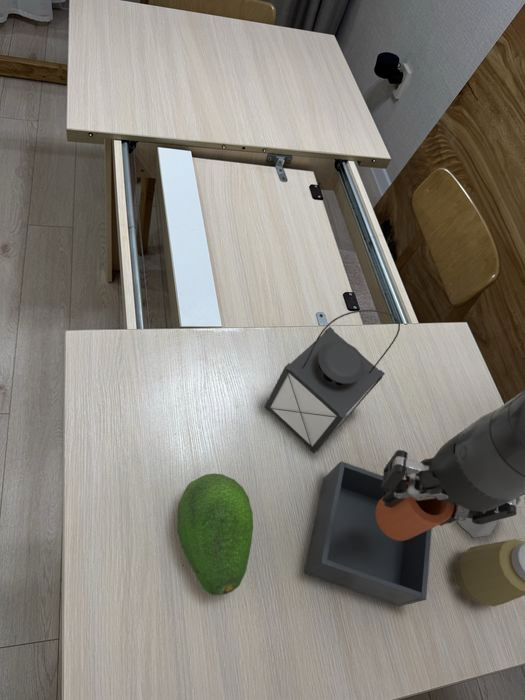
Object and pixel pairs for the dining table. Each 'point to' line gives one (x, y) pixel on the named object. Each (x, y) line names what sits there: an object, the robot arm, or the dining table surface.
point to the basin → (364, 542)
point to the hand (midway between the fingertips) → (412, 507)
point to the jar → (411, 516)
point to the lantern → (323, 386)
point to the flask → (482, 529)
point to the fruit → (216, 531)
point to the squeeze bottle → (493, 572)
